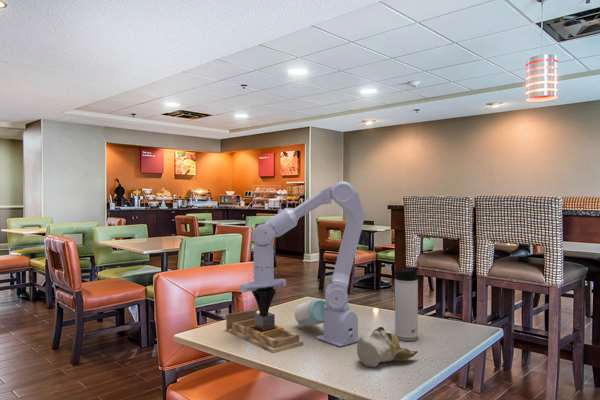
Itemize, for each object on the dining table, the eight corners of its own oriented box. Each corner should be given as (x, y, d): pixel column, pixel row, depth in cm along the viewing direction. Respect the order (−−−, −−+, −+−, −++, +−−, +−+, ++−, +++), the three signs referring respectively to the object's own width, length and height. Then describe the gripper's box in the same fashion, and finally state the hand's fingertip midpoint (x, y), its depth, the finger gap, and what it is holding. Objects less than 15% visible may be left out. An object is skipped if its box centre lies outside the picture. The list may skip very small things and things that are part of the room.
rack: (303, 344, 117) (303, 326, 117) (273, 353, 110) (273, 333, 110) (254, 324, 135) (254, 308, 135) (226, 331, 129) (226, 314, 129)
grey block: (274, 335, 122) (274, 314, 122) (263, 338, 119) (262, 317, 119) (266, 332, 125) (266, 311, 125) (254, 335, 122) (254, 314, 122)
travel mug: (419, 342, 118) (419, 269, 118) (395, 341, 119) (395, 268, 119) (418, 335, 124) (418, 266, 124) (394, 334, 126) (394, 265, 126)
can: (304, 298, 136) (321, 292, 126) (318, 316, 136) (336, 311, 126) (289, 313, 133) (305, 308, 122) (303, 331, 132) (321, 328, 122)
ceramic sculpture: (345, 325, 105) (387, 318, 114) (343, 361, 105) (386, 351, 113) (377, 336, 96) (420, 328, 105) (375, 376, 96) (419, 364, 105)
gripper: (276, 262, 130) (276, 307, 130) (234, 267, 121) (234, 315, 121) (290, 265, 125) (290, 312, 125) (247, 270, 116) (247, 321, 116)
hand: (263, 314), depth 123 cm, fingers closed, pressing on grey block
